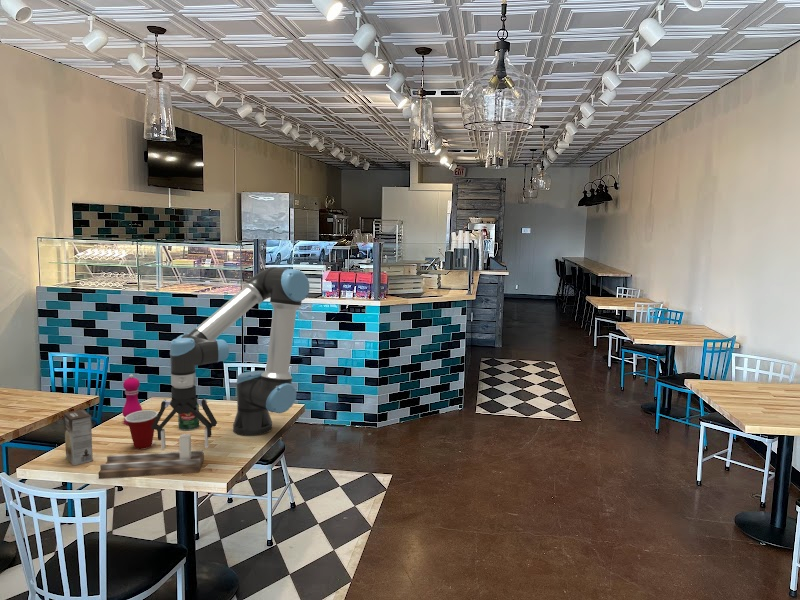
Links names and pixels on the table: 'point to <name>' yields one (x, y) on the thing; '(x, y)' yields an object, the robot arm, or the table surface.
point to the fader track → (150, 464)
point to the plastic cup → (142, 427)
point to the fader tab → (185, 446)
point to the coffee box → (78, 437)
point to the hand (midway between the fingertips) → (185, 447)
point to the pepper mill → (131, 396)
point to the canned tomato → (188, 421)
